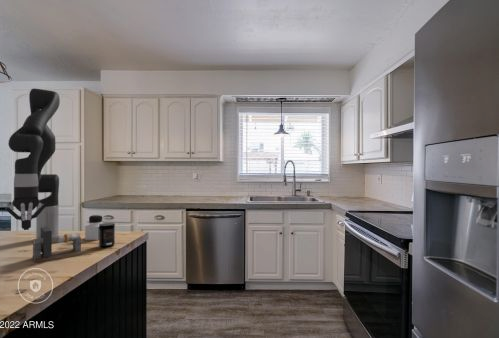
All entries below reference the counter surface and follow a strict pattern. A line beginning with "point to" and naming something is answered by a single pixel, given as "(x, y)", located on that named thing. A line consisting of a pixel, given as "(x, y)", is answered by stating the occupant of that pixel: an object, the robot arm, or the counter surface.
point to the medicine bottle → (93, 227)
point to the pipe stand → (57, 254)
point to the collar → (46, 241)
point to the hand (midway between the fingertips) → (26, 229)
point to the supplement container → (106, 235)
